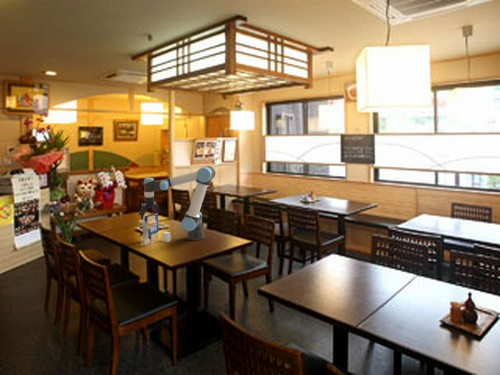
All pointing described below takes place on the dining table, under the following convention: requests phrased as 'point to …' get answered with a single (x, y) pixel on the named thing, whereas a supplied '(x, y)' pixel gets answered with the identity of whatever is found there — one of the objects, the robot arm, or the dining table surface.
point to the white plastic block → (166, 236)
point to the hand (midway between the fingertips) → (150, 222)
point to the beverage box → (151, 228)
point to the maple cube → (145, 242)
